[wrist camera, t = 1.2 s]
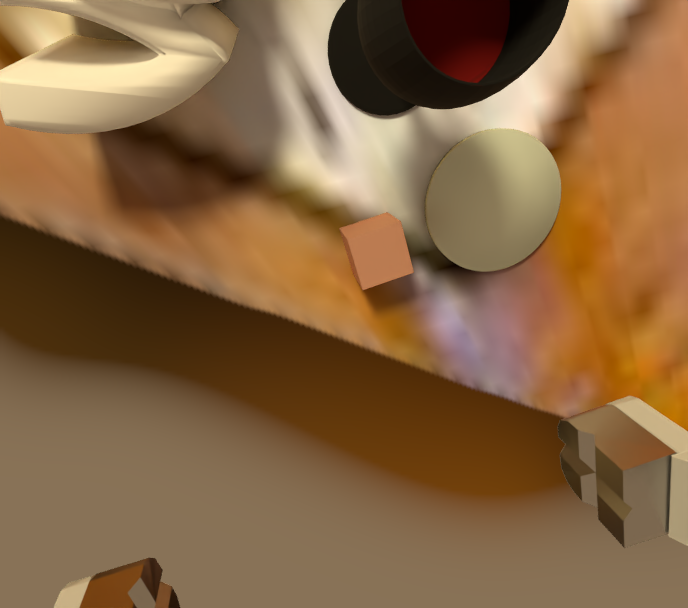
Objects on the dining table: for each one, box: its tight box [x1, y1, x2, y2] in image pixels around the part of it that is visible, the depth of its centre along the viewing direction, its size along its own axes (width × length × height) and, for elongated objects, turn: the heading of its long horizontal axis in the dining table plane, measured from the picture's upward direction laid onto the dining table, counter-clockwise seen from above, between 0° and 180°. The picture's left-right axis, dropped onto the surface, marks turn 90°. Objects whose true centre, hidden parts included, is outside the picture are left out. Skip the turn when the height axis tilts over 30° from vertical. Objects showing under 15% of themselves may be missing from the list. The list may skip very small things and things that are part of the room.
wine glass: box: [328, 0, 569, 115], centre depth 31 cm, size 10×10×20 cm
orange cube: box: [339, 212, 414, 290], centre depth 44 cm, size 5×5×5 cm
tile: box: [425, 129, 561, 272], centre depth 46 cm, size 14×14×1 cm
